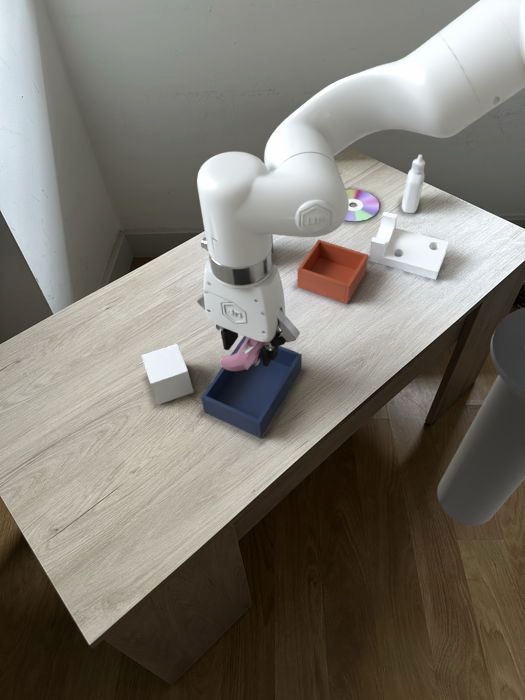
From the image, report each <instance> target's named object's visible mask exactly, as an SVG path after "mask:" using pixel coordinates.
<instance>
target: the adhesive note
mask: <svg viewBox="0 0 525 700" xmlns="http://www.w3.org/2000/svg"><path fill="white" fill-rule="evenodd" d="M140 356H141V360H142V363H143V366H144V368H145V371H146V375H147V379H148V381H149V384H150V387H151V390H152V392H153V395H154V398H155V400H156V402H157V405H158V406H159V405H161V404H164V403H167V402H170V401H173V400H175V399H179V398H182V397H184V396H187V395H190V394H192V393H194V388H193V385H192V381H191V377H190V374H189V371H188V367H187V365H186V362H185V360H184V357H183V354H182V352H181V349H180V347H179V344H178V343H174V344H171V345H167V346H165V347H161V348H159V349H156V350H153V351H150V352H146V353H143V354H141V355H140Z"/></svg>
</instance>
